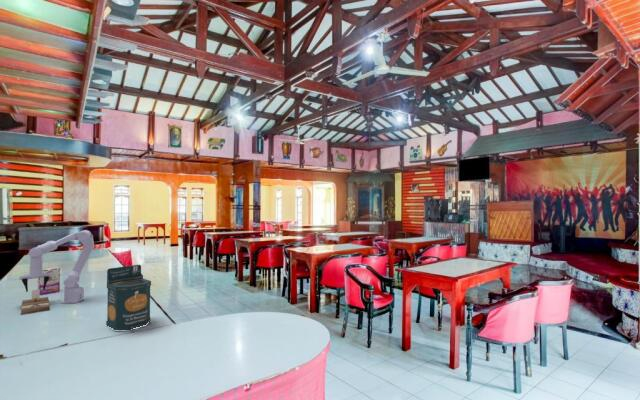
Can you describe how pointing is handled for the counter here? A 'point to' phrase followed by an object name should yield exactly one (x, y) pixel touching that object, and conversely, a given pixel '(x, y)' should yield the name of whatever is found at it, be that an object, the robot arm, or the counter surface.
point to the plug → (35, 295)
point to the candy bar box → (50, 281)
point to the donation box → (127, 298)
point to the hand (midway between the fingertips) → (35, 290)
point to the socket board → (35, 305)
